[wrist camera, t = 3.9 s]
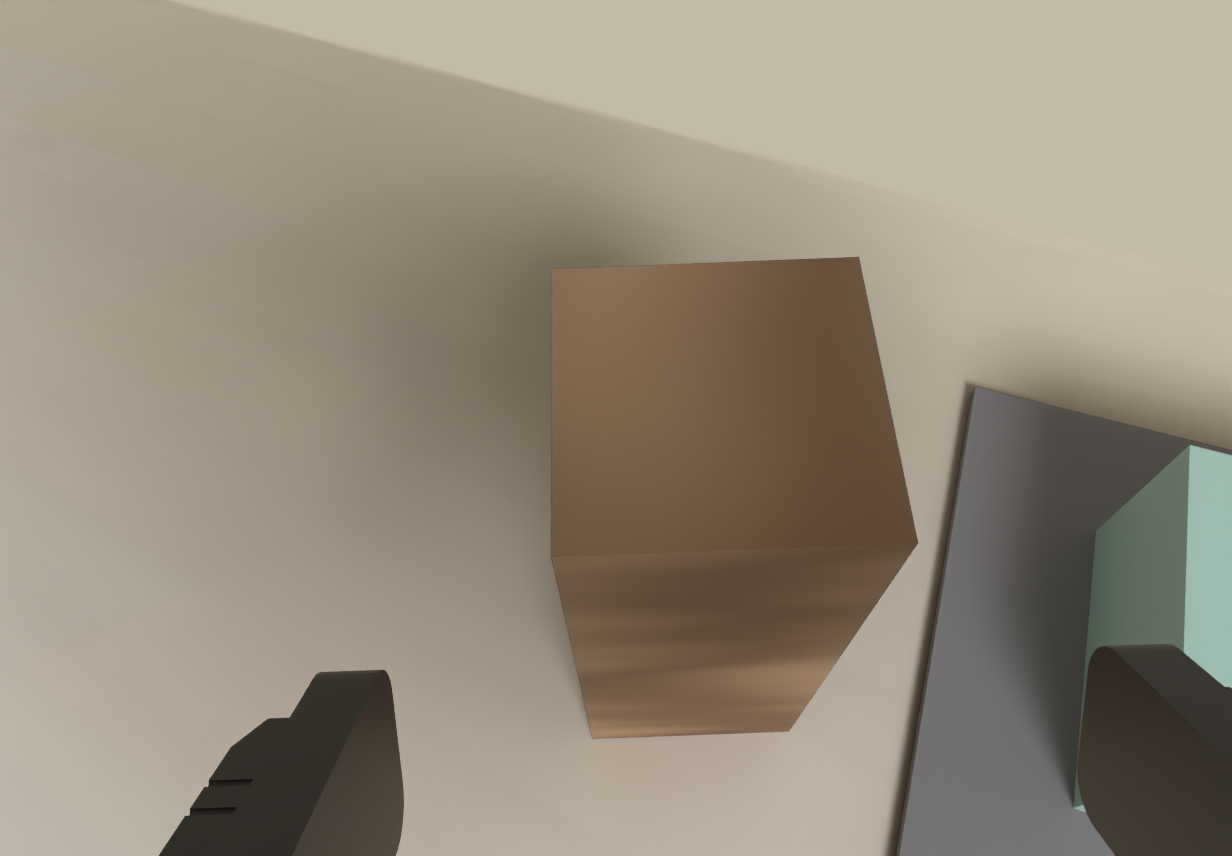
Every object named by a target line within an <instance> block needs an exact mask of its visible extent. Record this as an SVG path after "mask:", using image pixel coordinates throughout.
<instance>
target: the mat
mask: <svg viewBox="0 0 1232 856" xmlns="http://www.w3.org/2000/svg"><path fill="white" fill-rule="evenodd" d="M1189 445H1192V446H1196V447H1200V448H1204V449H1208V450H1212V451H1216V452H1220V453H1224V454H1228V455H1232V450H1228V449H1224V448H1220V447H1216V446H1212V445H1208V444H1204V443H1200V442H1196V441H1192V440H1188V439H1184V438H1180V437H1176V436H1172V435H1168V434H1164V433H1160V432H1156V431H1152V430H1148V429H1144V428H1140V427H1136V426H1131V425H1127V424H1123V423H1119V422H1115V421H1111V420H1107V419H1103V418H1099V417H1095V416H1091V415H1087V414H1083V413H1079V412H1075V411H1071V410H1067V409H1063V408H1059V407H1055V406H1051V405H1047V404H1043V403H1039V402H1035V401H1031V400H1027V399H1023V398H1019V397H1015V396H1011V395H1007V394H1003V393H999V392H995V391H991V390H987V389H983V388H979V387H975V389H974V390H973V392H972V395H971V401H970V407H969V414H968V420H967V426H966V432H965V438H964V444H963V450H962V456H961V462H960V468H959V474H958V480H957V486H956V493H955V499H954V505H953V511H952V517H951V523H950V529H949V535H948V541H947V547H946V553H945V559H944V565H943V571H942V578H941V584H940V590H939V596H938V602H937V608H936V614H935V620H934V626H933V632H932V638H931V644H930V650H929V657H928V663H927V669H926V675H925V681H924V687H923V693H922V699H921V705H920V711H919V717H918V723H917V729H916V736H915V742H914V748H913V754H912V760H911V766H910V772H909V778H908V784H907V790H906V796H905V802H904V808H903V814H902V821H901V827H900V833H899V839H898V845H897V851H896V856H1115V855H1114V853H1113V852H1112V851H1111V849H1110V848H1109V847H1108V845H1107V844H1106V843H1105V841H1104V840H1103V838H1102V837H1101V836H1100V834H1099V833H1098V832H1097V830H1096V829H1095V827H1094V826H1093V824H1092V823H1091V821H1090V819H1089V817H1088V815H1087V813H1086V812H1084V811H1080V810H1077V809H1074V808H1073V806H1074V794H1075V781H1076V769H1077V757H1078V745H1079V732H1080V720H1081V708H1082V696H1083V683H1084V671H1085V659H1086V646H1087V634H1088V622H1089V610H1090V597H1091V585H1092V573H1093V560H1094V548H1095V536H1096V530H1098V529H1099V528H1100V527H1101V526H1102V525H1103V524H1104V523H1105V522H1106V521H1107V520H1108V519H1110V518H1111V517H1112V516H1113V515H1114V514H1115V513H1116V512H1117V511H1118V510H1119V509H1120V508H1122V507H1123V506H1124V505H1125V504H1126V503H1127V502H1128V501H1129V500H1130V499H1131V498H1132V497H1134V496H1135V495H1136V494H1137V493H1138V492H1139V491H1140V490H1141V489H1142V488H1143V487H1145V486H1146V485H1147V484H1148V483H1149V482H1150V481H1151V480H1152V479H1153V478H1154V477H1155V476H1157V475H1158V474H1159V473H1160V472H1161V471H1162V470H1163V469H1164V468H1165V467H1166V466H1167V465H1169V464H1170V463H1171V462H1172V461H1173V460H1174V459H1175V458H1176V457H1177V456H1178V455H1179V454H1181V453H1182V452H1183V451H1184V450H1185V449H1186V448H1187V447H1188V446H1189Z"/></svg>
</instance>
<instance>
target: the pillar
mask: <svg viewBox="0 0 1232 856" xmlns="http://www.w3.org/2000/svg"><path fill="white" fill-rule="evenodd" d="M917 544H918V540H917V535H916V531H915V526H914V521H913V516H912V511H911V506H910V502H909V497H908V492H907V487H906V482H905V477H904V473H903V468H902V463H901V458H900V453H899V449H898V444H897V439H896V434H895V429H894V424H893V420H892V415H891V410H890V405H889V400H888V395H887V391H886V386H885V381H884V376H883V371H882V366H881V362H880V357H879V352H878V347H877V342H876V337H875V333H874V328H873V323H872V318H871V313H870V308H869V304H868V299H867V294H866V289H865V284H864V279H863V275H862V270H861V265H860V260H859V257H845V258H820V259H794V260H769V261H744V262H718V263H693V264H668V265H642V266H617V267H592V268H567V269H552V413H551V559H552V564H553V568H554V572H555V577H556V581H557V585H558V590H559V594H560V599H561V603H562V607H563V612H564V616H565V621H566V625H567V629H568V634H569V638H570V643H571V647H572V651H573V656H574V660H575V665H576V669H577V673H578V678H579V682H580V686H581V691H582V695H583V700H584V704H585V708H586V713H587V717H588V722H589V726H590V730H591V735H592V739H599V738H625V737H652V736H679V735H706V734H732V733H759V732H786V731H790V729H791V728H792V726H793V725H794V723H795V722H796V720H797V719H798V717H799V716H800V715H801V713H802V712H803V710H804V709H805V707H806V706H807V704H808V703H809V701H810V700H811V699H812V697H813V696H814V694H815V693H816V691H817V690H818V688H819V687H820V685H821V684H822V682H823V681H824V680H825V678H826V677H827V675H828V674H829V672H830V671H831V669H832V668H833V666H834V665H835V664H836V662H837V661H838V659H839V658H840V656H841V655H842V653H843V652H844V650H845V649H846V647H847V646H848V645H849V643H850V642H851V640H852V639H853V637H854V636H855V634H856V633H857V631H858V630H859V629H860V627H861V626H862V624H863V623H864V621H865V620H866V618H867V617H868V615H869V614H870V612H871V611H872V610H873V608H874V607H875V605H876V604H877V602H878V601H879V599H880V598H881V596H882V595H883V594H884V592H885V591H886V589H887V588H888V586H889V585H890V583H891V582H892V580H893V579H894V577H895V576H896V575H897V573H898V572H899V570H900V569H901V567H902V566H903V564H904V563H905V561H906V560H907V558H908V557H909V556H910V554H911V553H912V551H913V550H914V548H915V547H916V545H917Z"/></svg>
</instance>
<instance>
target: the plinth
mask: <svg viewBox="0 0 1232 856" xmlns="http://www.w3.org/2000/svg"><path fill="white" fill-rule="evenodd" d="M1146 644H1171V645H1174V646H1176V647H1177V648H1179V649H1180V650H1181V651H1183V652H1184V653H1185V654H1186V655H1187V656H1189V657H1190V658H1191V659H1192V660H1193V661H1194V662H1196V663H1197V664H1198V665H1199V666H1200V667H1202V668H1203V669H1204V670H1205V671H1206V672H1208V673H1209V674H1210V675H1211V676H1212V677H1214V678H1215V679H1216V680H1217V681H1218V682H1219V683H1221V684H1222V685H1223V686H1224V687H1230V688H1232V455H1228V454H1224V453H1220V452H1216V451H1212V450H1208V449H1204V448H1200V447H1196V446H1192V445H1189V446H1188V447H1187V448H1186V449H1185V450H1184V451H1183V452H1182V453H1181V454H1179V455H1178V456H1177V457H1176V458H1175V459H1174V460H1173V461H1172V462H1171V463H1170V464H1169V465H1167V466H1166V467H1165V468H1164V469H1163V470H1162V471H1161V472H1160V473H1159V474H1158V475H1157V476H1155V477H1154V478H1153V479H1152V480H1151V481H1150V482H1149V483H1148V484H1147V485H1146V486H1145V487H1143V488H1142V489H1141V490H1140V491H1139V492H1138V493H1137V494H1136V495H1135V496H1134V497H1132V498H1131V499H1130V500H1129V501H1128V502H1127V503H1126V504H1125V505H1124V506H1123V507H1122V508H1120V509H1119V510H1118V511H1117V512H1116V513H1115V514H1114V515H1113V516H1112V517H1111V518H1110V519H1108V520H1107V521H1106V522H1105V523H1104V524H1103V525H1102V526H1101V527H1100V528H1099V529H1098V530H1096V536H1095V548H1094V560H1093V573H1092V585H1091V597H1090V610H1089V622H1088V634H1087V646H1086V659H1085V671H1084V683H1083V696H1082V708H1081V720H1080V732H1079V745H1080V736H1081V727H1082V718H1083V709H1084V700H1085V691H1086V682H1087V673H1088V666H1089V661H1090V658H1091V656H1092V654H1093V652H1094V651H1095V650H1096V649H1097V648H1098V647H1101V646H1118V645H1146ZM1079 745H1078V754H1079ZM1077 765H1078V757H1077ZM1073 808H1074V809H1077V810H1080V811H1084V812H1086V810H1085V808H1084V805H1083V802H1082V799H1081V795H1080V790H1079V785H1078V776H1077V769H1076V781H1075V794H1074V806H1073Z"/></svg>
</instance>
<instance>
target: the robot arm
mask: <svg viewBox="0 0 1232 856" xmlns="http://www.w3.org/2000/svg"><path fill="white" fill-rule="evenodd" d="M1077 776H1078V785H1079V790H1080V795H1081V799H1082V802H1083V805H1084V808H1085V810H1086V813H1087V815H1088V817H1089V819H1090V821H1091V823H1092V824H1093V826H1094V827H1095V829H1096V830H1097V832H1098V833H1099V834H1100V836H1101V837H1102V838H1103V840H1104V841H1105V843H1106V844H1107V845H1108V847H1109V848H1110V849H1111V851H1112V852H1113V853H1114V855H1115V856H1232V688H1230V687H1224V686H1223V685H1222V684H1221V683H1219V682H1218V681H1217V680H1216V679H1215V678H1214V677H1212V676H1211V675H1210V674H1209V673H1208V672H1206V671H1205V670H1204V669H1203V668H1202V667H1200V666H1199V665H1198V664H1197V663H1196V662H1194V661H1193V660H1192V659H1191V658H1190V657H1189V656H1187V655H1186V654H1185V653H1184V652H1183V651H1181V650H1180V649H1179V648H1177V647H1176V646H1174V645H1171V644H1146V645H1118V646H1101V647H1098V648H1097V649H1096V650H1095V651H1094V652H1093V654H1092V656H1091V658H1090V661H1089V666H1088V673H1087V682H1086V691H1085V700H1084V709H1083V718H1082V727H1081V736H1080V745H1079V754H1078V765H1077ZM403 810H404V793H403V781H402V772H401V764H400V755H399V746H398V738H397V729H396V721H395V712H394V703H393V695H392V687H391V682H390V679H389V676H388V674H387V672H386V671H385V670H366V671H338V672H320V673H318V674H316V675H315V677H314V678H313V680H312V681H311V683H310V685H309V687H308V688H307V690H306V692H305V693H304V695H303V697H302V698H301V700H300V702H299V703H298V705H297V707H296V708H295V710H294V712H293V713H292V715H291V717H290V718H271V719H267V720H266V721H265V722H263V723H262V724H261V725H259V726H258V727H257V728H255V729H254V730H253V731H252V732H250V733H249V734H248V735H246V736H245V737H244V738H242V739H241V740H240V741H239V742H237V743H236V744H235V745H233V746H232V747H231V748H230V750H229V751H228V753H227V754H226V756H225V757H224V759H223V760H222V762H221V763H220V765H219V766H218V768H217V769H216V771H215V772H214V774H213V775H212V777H211V778H210V780H209V786H208V787H204V789H203V790H202V792H201V793H200V795H199V796H198V798H197V799H196V801H195V802H194V804H193V805H192V807H191V808H190V815H189V816H185V817H184V819H183V820H182V822H181V823H180V825H179V826H178V828H177V829H176V831H175V832H174V834H173V835H172V837H171V838H170V840H169V841H168V843H167V844H166V846H165V847H164V849H163V850H162V852H161V853H160V855H159V856H396V853H397V850H398V846H399V842H400V837H401V831H402V823H403Z"/></svg>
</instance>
